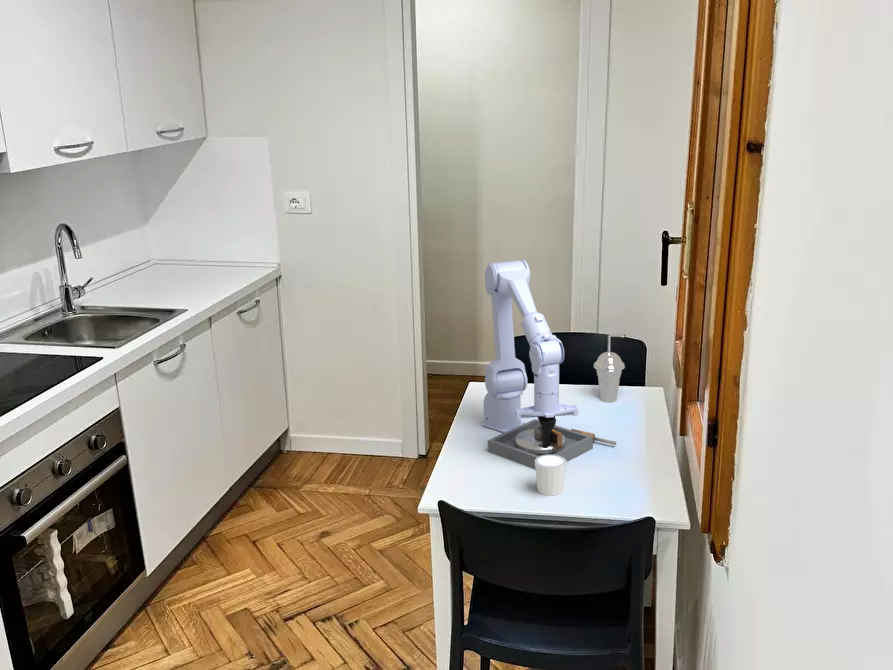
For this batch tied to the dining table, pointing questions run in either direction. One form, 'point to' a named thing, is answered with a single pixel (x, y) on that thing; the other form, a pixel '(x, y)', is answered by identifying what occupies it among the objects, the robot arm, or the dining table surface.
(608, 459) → the dining table surface
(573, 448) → the tray
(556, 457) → the white fluted cup
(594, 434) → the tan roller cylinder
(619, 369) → the cup with straw
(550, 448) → the dial
